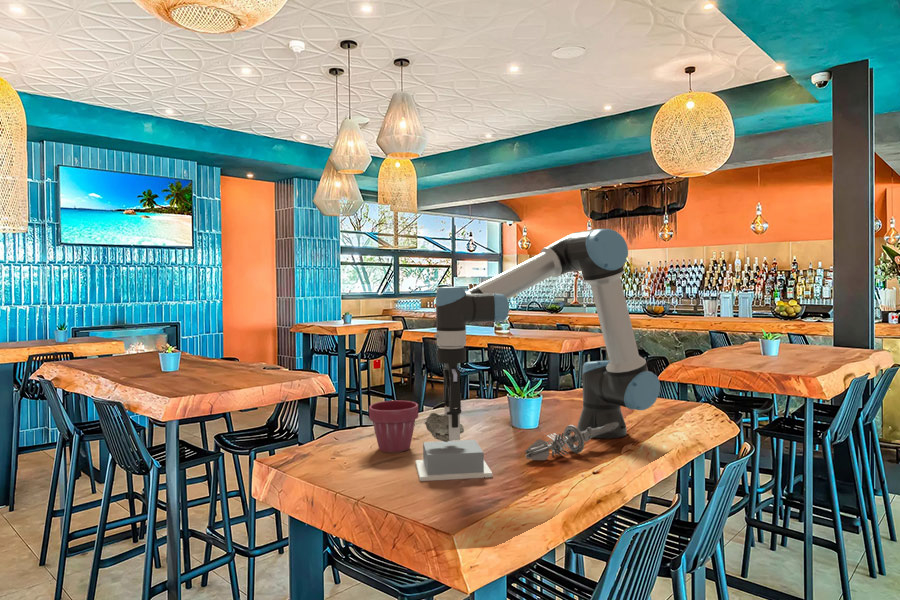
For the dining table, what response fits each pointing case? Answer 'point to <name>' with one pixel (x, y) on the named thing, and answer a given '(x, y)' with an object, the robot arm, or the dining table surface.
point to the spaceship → (566, 441)
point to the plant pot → (393, 424)
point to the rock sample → (439, 426)
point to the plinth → (452, 461)
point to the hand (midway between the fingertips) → (452, 435)
